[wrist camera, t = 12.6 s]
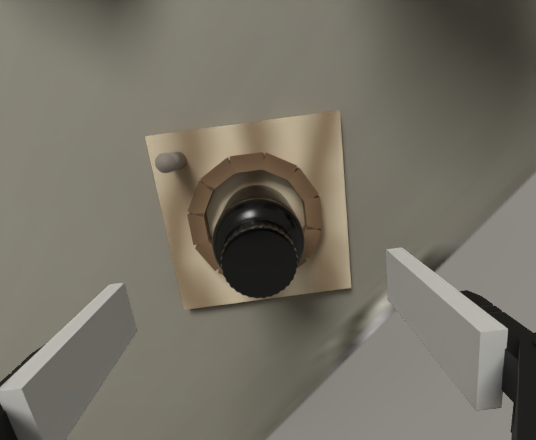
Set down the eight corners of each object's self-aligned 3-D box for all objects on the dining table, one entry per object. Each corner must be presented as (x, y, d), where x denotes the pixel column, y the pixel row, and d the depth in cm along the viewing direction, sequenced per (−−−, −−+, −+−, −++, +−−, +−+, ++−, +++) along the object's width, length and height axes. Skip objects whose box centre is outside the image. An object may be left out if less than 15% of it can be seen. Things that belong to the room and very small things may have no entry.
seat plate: (336, 111, 29) (353, 105, 24) (348, 282, 33) (363, 307, 28) (149, 136, 29) (126, 135, 24) (186, 303, 33) (174, 332, 28)
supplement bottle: (279, 258, 31) (291, 327, 19) (215, 238, 30) (188, 298, 19) (302, 195, 29) (331, 230, 18) (235, 173, 29) (219, 194, 17)
